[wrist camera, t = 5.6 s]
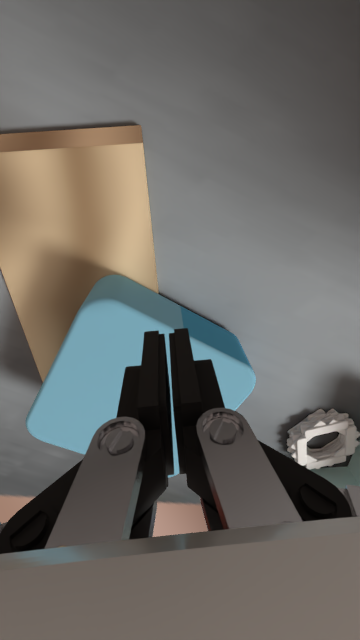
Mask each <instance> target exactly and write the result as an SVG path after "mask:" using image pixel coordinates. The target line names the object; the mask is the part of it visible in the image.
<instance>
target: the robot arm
mask: <svg viewBox="0 0 360 640" xmlns="http://www.w3.org/2000/svg"><path fill="white" fill-rule="evenodd" d="M169 346H170V364H171V382H172V399H173V412H174V422H175V432H176V442H177V452H178V463H179V473H180V474H186V475H187V485H188V487H189V488H190V489H191V490H193V491H194V492H195V493H196V494H198V495H199V496H200V503H201V507H202V510H203V514H204V518H205V521H206V525H207V529H208V531H207V532H198V533H188V534H178V535H169V536H160V537H152V536H153V529H154V522H155V515H156V509H157V499H158V497H159V496H160V495H161V494H162V493H163V492H164V491H165V490H166V487H168V475H174V457H173V436H172V415H171V395H170V383H169V374H168V364H167V354H166V344H165V334H159V330H158V331H147V332H144V341H143V351H142V361H141V365H139V366H128V367H126V368H125V372H124V378H123V383H122V389H121V394H120V400H119V405H118V411H117V416H116V418H114V419H111V420H109V421H107V422H106V423H104V424H103V425H102V426H101V427H99V428H98V429H97V431H96V432H95V434H94V436H93V437H92V440H91V442H90V444H89V447H88V449H87V451H86V454H85V456H84V458H83V460H82V461H80V462H79V463H78V464H76V465H75V466H74V467H73V468H71V469H70V470H69V471H68V472H66V473H65V474H64V475H63V476H61V477H60V478H59V479H58V480H56V481H55V482H54V483H53V484H51V485H50V486H49V487H48V488H46V489H45V490H44V491H43V492H41V493H40V494H39V495H38V496H36V497H35V498H34V499H33V500H31V501H30V502H29V503H28V504H26V505H25V506H24V507H23V508H22V509H20V510H19V511H18V512H17V513H16V514H15V515H14V516H13V517H12V518H11V519H10V520H9V521H8V522H6V523H3V524H1V523H0V640H360V486H354V485H346V486H345V489H344V488H337V487H336V486H335V485H333V484H332V483H331V482H329V481H328V480H326V479H325V478H323V477H321V476H320V475H318V474H316V473H314V472H313V471H311V470H309V469H307V468H306V467H304V466H302V465H300V464H299V463H297V462H295V461H293V460H292V459H290V458H288V457H286V456H285V455H283V454H281V453H279V452H278V451H276V450H274V449H272V448H271V447H269V446H267V445H265V444H264V443H262V442H260V441H258V440H257V438H256V436H255V435H254V433H253V431H252V429H251V427H250V426H249V424H248V422H247V421H246V419H245V418H244V417H243V416H242V415H241V414H239V413H238V412H236V411H234V410H231V409H228V408H225V405H224V402H223V398H222V395H221V391H220V388H219V384H218V381H217V377H216V373H215V370H214V366H213V363H212V360H211V359H207V360H195V361H194V359H193V353H192V348H191V342H190V337H189V332H188V328H182V329H174V333H169Z"/></svg>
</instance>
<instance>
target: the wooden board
mask: <svg viewBox="0 0 360 640" xmlns="http://www.w3.org/2000/svg"><path fill="white" fill-rule="evenodd" d="M0 268H1V271H2V273H3V276H4V279H5V282H6V284H7V287H8V290H9V292H10V295H11V298H12V301H13V303H14V306H15V309H16V311H17V314H18V317H19V319H20V322H21V325H22V328H23V330H24V333H25V336H26V338H27V341H28V344H29V347H30V349H31V352H32V355H33V357H34V360H35V363H36V365H37V368H38V371H39V374H40V376H41V379H42V382H44V380H45V378H46V376H47V374H48V372H49V370H50V368H51V366H52V363H53V361H54V359H55V357H56V355H57V353H58V351H59V349H60V347H61V345H62V343H63V341H64V339H65V337H66V335H67V333H68V331H69V328H70V326H71V324H72V322H73V320H74V318H75V316H76V314H77V312H78V310H79V309H80V307H81V305H82V304H83V302H84V301H85V299H86V298H87V296H88V294H89V293H90V291H91V290H92V288H93V287H94V285H95V284H96V282H97V281H98V280H100V279H101V278H103V277H105V276H108V275H121V276H125V277H127V278H129V279H131V280H133V281H134V282H136V283H138V284H140V285H142V286H144V287H146V288H148V289H150V290H151V291H153V292H155V293H157V294H159V292H158V283H157V273H156V263H155V254H154V244H153V235H152V225H151V215H150V206H149V196H148V187H147V177H146V167H145V158H144V148H143V139H142V129H141V125H135V126H120V127H104V128H88V129H73V130H57V131H42V132H26V133H11V134H0Z"/></svg>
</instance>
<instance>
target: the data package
mask: <svg viewBox="0 0 360 640" xmlns="http://www.w3.org/2000/svg"><path fill="white" fill-rule="evenodd" d="M182 328H188V332H189V337H190V342H191V348H192V353H193V359H194V361H195V360H207V359H211V360H212V363H213V366H214V370H215V373H216V377H217V381H218V384H219V388H220V391H221V395H222V398H223V402H224V405H225V408H228V409H231V410H234V411H235V410H236V409H237V408H238V407H239V406H240V404H241V403H242V402H243V401H244V400H245V399H246V398H247V397H248V395H249V394H250V393H251V392H252V390H253V389H254V386H255V382H256V378H255V374H254V371H253V369H252V367H251V365H250V363H249V361H248V359H247V357H246V355H245V353H244V351H243V349H242V346H241V344H240V342H239V340H238V339H237V337H236V336H235V335H234V334H232V333H231V332H229V331H227V330H225V329H223V328H221V327H219V326H218V325H216V324H214V323H212V322H210V321H208V320H206V319H204V318H202V317H201V316H199V315H197V314H195V313H193V312H191V311H189V310H187V309H185V308H184V307H182V306H180V305H178V304H176V303H174V302H172V301H170V300H168V299H167V298H165V297H163V296H161V295H159V294H157V293H155V292H153V291H151V290H150V289H148V288H146V287H144V286H142V285H140V284H138V283H136V282H134V281H133V280H131V279H129V278H127V277H125V276H121V275H108V276H105V277H103V278H101V279H100V280H98V281H97V282H96V284H95V285H94V287H93V288H92V290H91V291H90V293H89V294H88V296H87V298H86V299H85V301H84V302H83V304H82V305H81V307H80V309H79V310H78V312H77V314H76V316H75V318H74V320H73V322H72V324H71V326H70V328H69V331H68V333H67V335H66V337H65V339H64V341H63V343H62V345H61V347H60V349H59V351H58V353H57V355H56V357H55V359H54V361H53V363H52V366H51V368H50V370H49V372H48V374H47V376H46V378H45V380H44V382H43V384H42V386H41V388H40V390H39V392H38V394H37V396H36V398H35V400H34V403H33V405H32V407H31V409H30V411H29V413H28V415H27V417H26V427H27V429H28V431H29V432H30V434H31V435H33V436H34V437H35V438H37V439H39V440H41V441H44V442H47V443H50V444H53V445H56V446H59V447H62V448H66V449H69V450H72V451H75V452H78V453H81V454H84V455H85V454H86V451H87V449H88V447H89V444H90V442H91V440H92V437H93V436H94V434H95V432H96V431H97V429H98V428H99V427H101V426H102V425H103V424H104V423H106V422H107V421H109V420H111V419H114V418H116V416H117V411H118V405H119V400H120V394H121V389H122V383H123V378H124V372H125V368H126V367H128V366H139V365H141V361H142V351H143V341H144V332H147V331H158V330H159V334H165V344H166V354H167V364H168V374H169V383H170V395H171V415H172V436H173V457H174V475H168V477H172V476H175V475H177V474H178V473H179V463H178V452H177V442H176V432H175V422H174V412H173V399H172V382H171V364H170V346H169V333H174V329H182Z"/></svg>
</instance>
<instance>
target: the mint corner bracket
mask: <svg viewBox="0 0 360 640" xmlns="http://www.w3.org/2000/svg"><path fill="white" fill-rule="evenodd" d="M348 417H349V415H348V414H347V413H343V414H339V413H338V412H337V411H336V410H335V409H331V410H329V411H328V412H327V413H326V414H325V412H324V411H323V410H322V409H319V410H317V411H316V412H314V413H313V414H310V415H308V417H307V418H306V419H304V420H303V421H301V422H300V423H298V424H297V425H296V426H294V427H293V428H291V429H290V430H289V431H288V433H289V434H290V435H289V437H290V438H288V439H287V442H288V443H287V446H289V448H288V449H287V451H288V452H290V453H292V454H291V456H292V457H293V458H294V460H295V462H297V463H299V464H300V465H302V466H304V465H305V466H306V468H307V469H309V470H311V471H313V472H314V473H316V474H318V475H320V476H321V477H323V478H325V479H326V480H328V481H329V482H331V483H332V484H333V485H335V486H336V487H337V488H344V489H345V486H346V485H354V486H360V439H359V441H357V440H356V439H357V438H358V437H359V436H360V432H358V431H356V430H357V428H356V426H354V422H353V420H352V419H348ZM335 431H337V432H339V436H338V438H336V439H335V440H333V441H331V442H330V443H328V444H327V445H325V446H324V447H322V448H321V449H310V448H309V447H307V442H308V441H309V440H310V439H311V438H313V437H314V436H317V435H322V434H326V433H330V432H335ZM355 447H356V448H355ZM351 454H353V455H352V457H351V460H350V462H349V464H348V466H347V467H329V468H321V467H323V466H332V465H334V464H337V463H341V462H345V461H346V456H347V455H351Z"/></svg>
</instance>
